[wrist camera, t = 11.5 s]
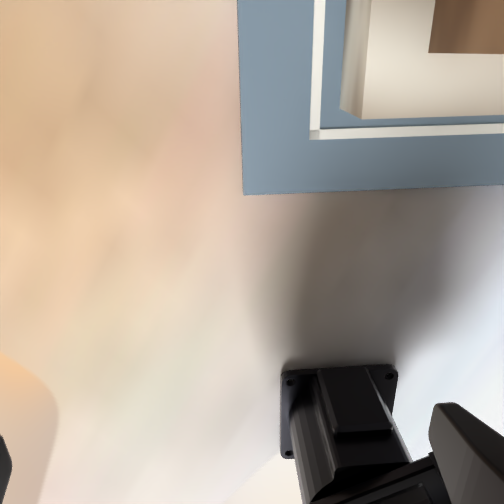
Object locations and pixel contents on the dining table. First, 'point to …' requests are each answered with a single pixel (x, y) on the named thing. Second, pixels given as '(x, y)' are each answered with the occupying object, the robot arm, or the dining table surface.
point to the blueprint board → (339, 116)
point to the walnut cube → (467, 27)
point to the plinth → (411, 66)
